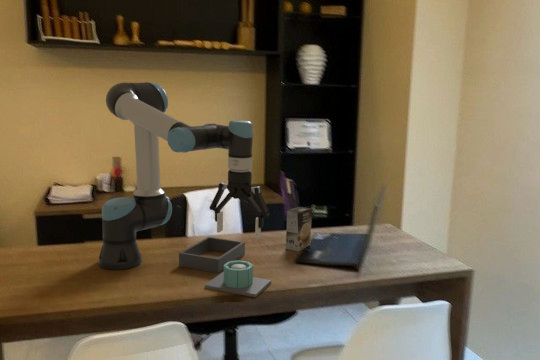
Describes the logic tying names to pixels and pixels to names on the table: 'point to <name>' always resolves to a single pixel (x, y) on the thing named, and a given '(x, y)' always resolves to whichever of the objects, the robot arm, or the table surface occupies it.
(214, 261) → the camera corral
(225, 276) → the collar
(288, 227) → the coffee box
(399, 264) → the table surface
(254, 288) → the stand
